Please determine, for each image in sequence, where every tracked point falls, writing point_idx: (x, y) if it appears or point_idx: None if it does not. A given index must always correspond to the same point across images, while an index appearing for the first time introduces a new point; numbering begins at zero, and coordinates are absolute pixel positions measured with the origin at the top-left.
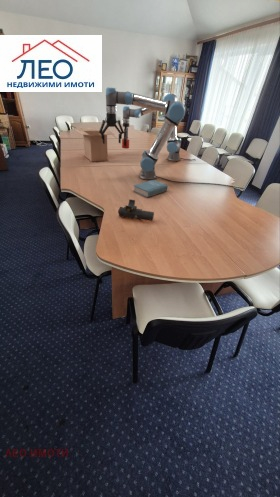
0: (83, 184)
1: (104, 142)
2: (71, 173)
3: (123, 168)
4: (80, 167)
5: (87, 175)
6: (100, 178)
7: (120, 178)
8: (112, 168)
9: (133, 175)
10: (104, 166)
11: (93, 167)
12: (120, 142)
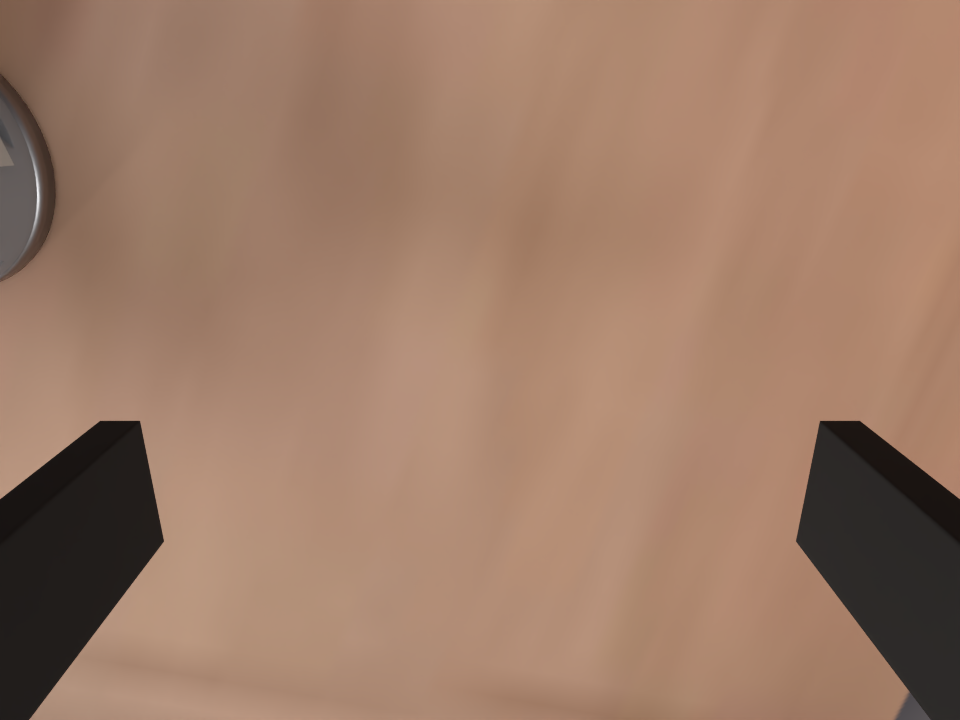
0: (941, 129)
1: (855, 445)
2: None
3: (203, 581)
4: (713, 709)
5: (746, 444)
6: (629, 297)
7: (357, 225)
8: (348, 608)
9: (132, 297)
10: (425, 689)
11: (567, 682)
12: (86, 438)
